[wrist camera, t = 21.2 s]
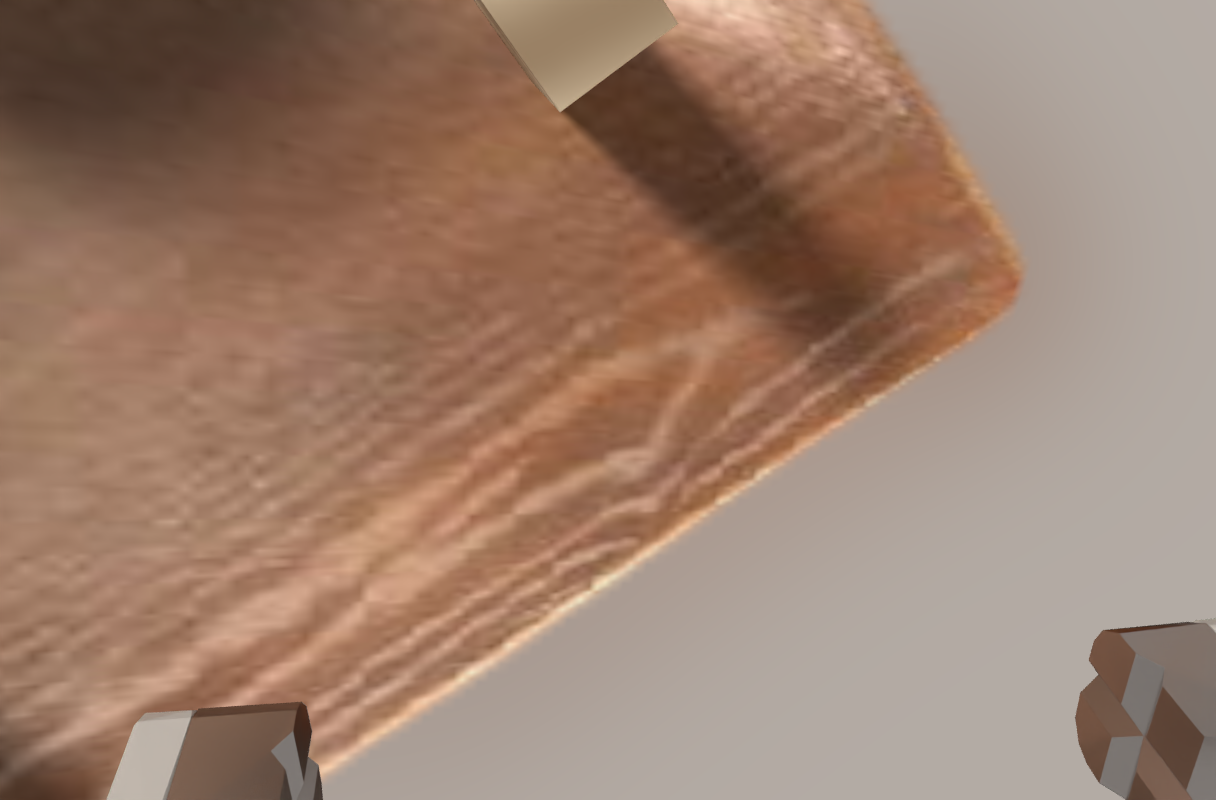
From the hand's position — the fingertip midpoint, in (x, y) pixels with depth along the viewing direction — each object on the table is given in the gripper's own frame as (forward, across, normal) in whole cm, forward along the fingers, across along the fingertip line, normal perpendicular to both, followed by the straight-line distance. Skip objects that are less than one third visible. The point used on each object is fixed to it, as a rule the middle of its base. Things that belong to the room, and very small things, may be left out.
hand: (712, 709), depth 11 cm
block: (+35, 0, +2) cm, 35 cm away
